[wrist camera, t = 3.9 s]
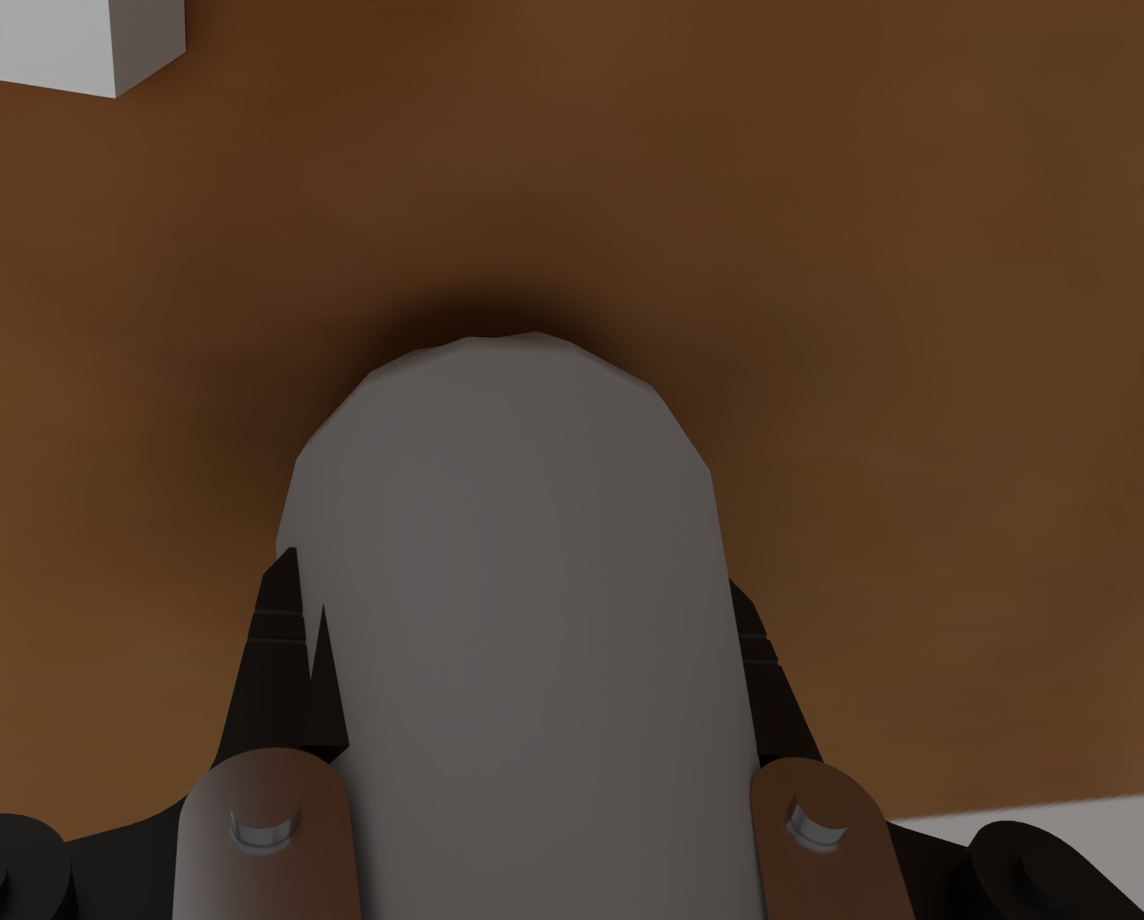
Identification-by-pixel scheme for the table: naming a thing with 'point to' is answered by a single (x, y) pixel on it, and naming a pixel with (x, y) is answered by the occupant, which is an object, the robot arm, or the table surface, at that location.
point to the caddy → (89, 42)
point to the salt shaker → (528, 642)
